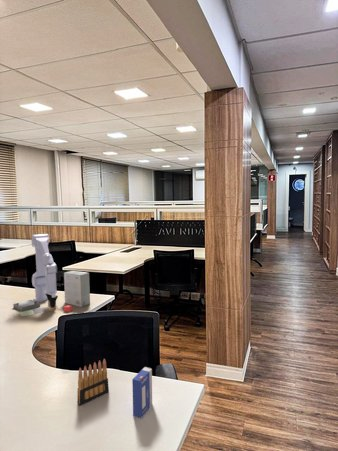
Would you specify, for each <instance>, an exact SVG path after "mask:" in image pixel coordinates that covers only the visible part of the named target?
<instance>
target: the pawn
mask: <svg viewBox="0 0 338 451" xmlns="http://www.w3.org/2000/svg"><path fill="white" fill-rule="evenodd" d="M56 305H57V302H56V303H55V307H53V308H51V306H50V302H49V300H47V307H48V309H49V310H52V309H56Z"/></svg>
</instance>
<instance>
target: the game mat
mask: <svg viewBox="0 0 338 451" xmlns="http://www.w3.org/2000/svg"><path fill="white" fill-rule="evenodd" d="M59 310H60V308H59V306H58V305H57V304H56V309H52V310H49V309H48V306H45V307H38V308H34V309H30V310H26V311H23V312H22V311H19V314H20V316H21V317H25V316H26V317H27V316H31V315H38V314H43V313H49V312H54V311H59Z"/></svg>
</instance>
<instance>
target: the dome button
mask: <svg viewBox="0 0 338 451" xmlns="http://www.w3.org/2000/svg"><path fill="white" fill-rule="evenodd" d="M31 300H32V299H28V300H23V301H19V302H17V303H18V306H20V307H26V306H30V305H34V301H35V300H33V301H31Z"/></svg>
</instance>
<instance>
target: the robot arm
mask: <svg viewBox="0 0 338 451" xmlns="http://www.w3.org/2000/svg"><path fill="white" fill-rule="evenodd" d="M49 243H50V236H49V233H42V234H41V233H39V234H32V235H31V246H32V248H34V250H35V251H34V252H35V266H36V267H35V269H36V271H35V272H34V273H33V274H32V276H31V283H32V287H34V293H35V298H32V300H33V301H35V302H38V303H41V302H44V301H48V300H49V302H50V306H51V308H53V307H55V303H56V304H57V300H58V295H56V294H57V292H58V290H57V272H58V266H57V264H56V262H54V258H53V256H52V254H51V253H50V251H49Z"/></svg>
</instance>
